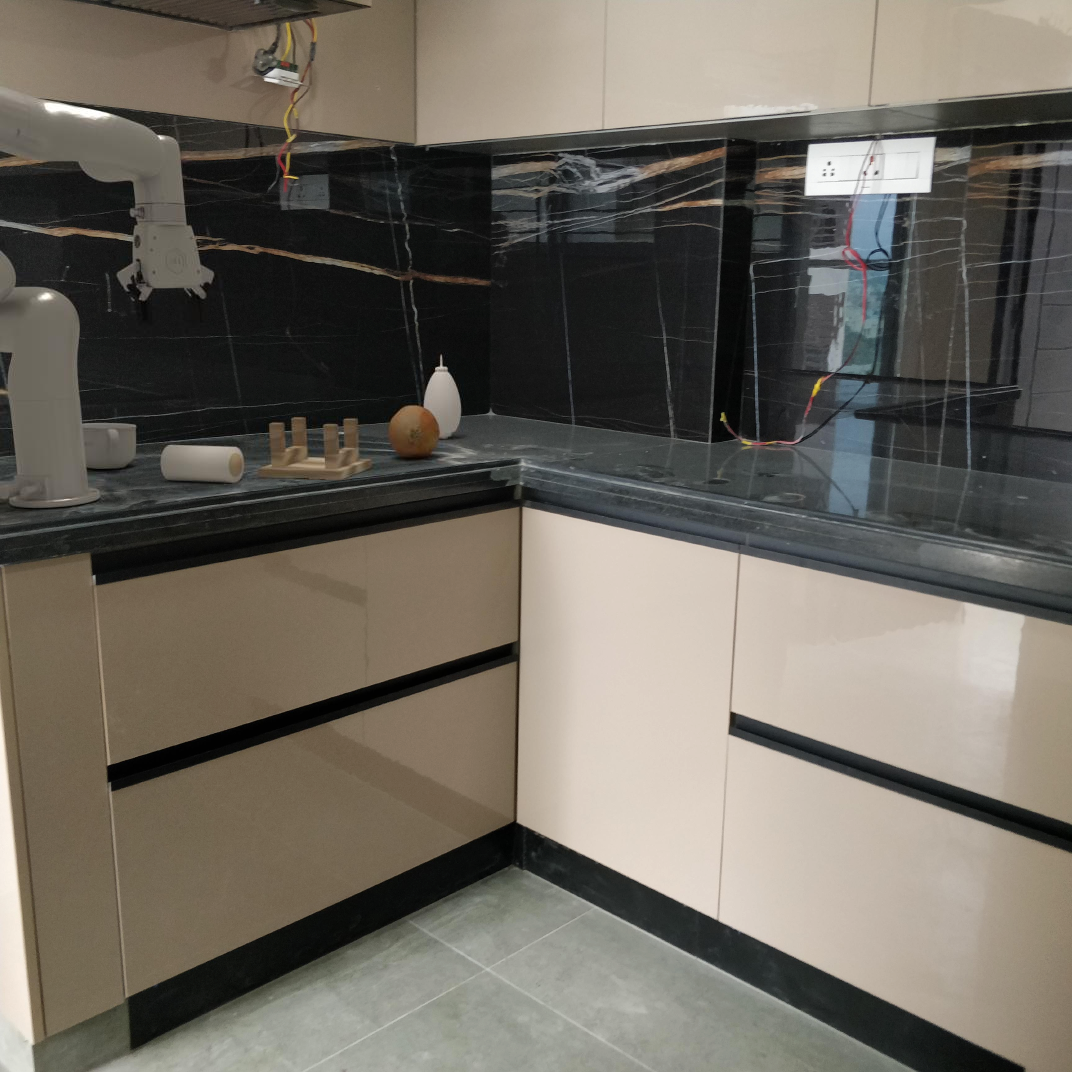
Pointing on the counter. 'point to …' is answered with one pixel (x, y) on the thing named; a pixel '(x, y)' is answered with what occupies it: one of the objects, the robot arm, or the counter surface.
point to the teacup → (109, 444)
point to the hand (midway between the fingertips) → (171, 324)
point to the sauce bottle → (443, 401)
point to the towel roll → (202, 463)
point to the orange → (414, 432)
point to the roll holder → (301, 466)
